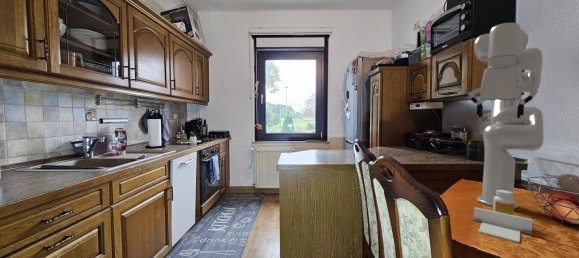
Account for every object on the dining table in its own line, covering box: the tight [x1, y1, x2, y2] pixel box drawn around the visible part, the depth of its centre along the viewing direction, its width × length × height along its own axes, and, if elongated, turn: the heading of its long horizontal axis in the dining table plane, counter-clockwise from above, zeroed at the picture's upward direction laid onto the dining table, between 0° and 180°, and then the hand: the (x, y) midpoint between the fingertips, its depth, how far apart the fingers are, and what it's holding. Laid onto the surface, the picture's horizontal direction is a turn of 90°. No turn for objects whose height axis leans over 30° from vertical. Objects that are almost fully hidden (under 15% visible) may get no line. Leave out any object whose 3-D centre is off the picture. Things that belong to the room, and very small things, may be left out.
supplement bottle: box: [492, 190, 515, 216], centre depth 85 cm, size 5×5×10 cm
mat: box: [477, 222, 521, 244], centre depth 75 cm, size 9×9×1 cm
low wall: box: [472, 207, 534, 235], centre depth 80 cm, size 3×14×4 cm, turn 47°
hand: (498, 117), depth 83 cm, fingers open, 9 cm apart
